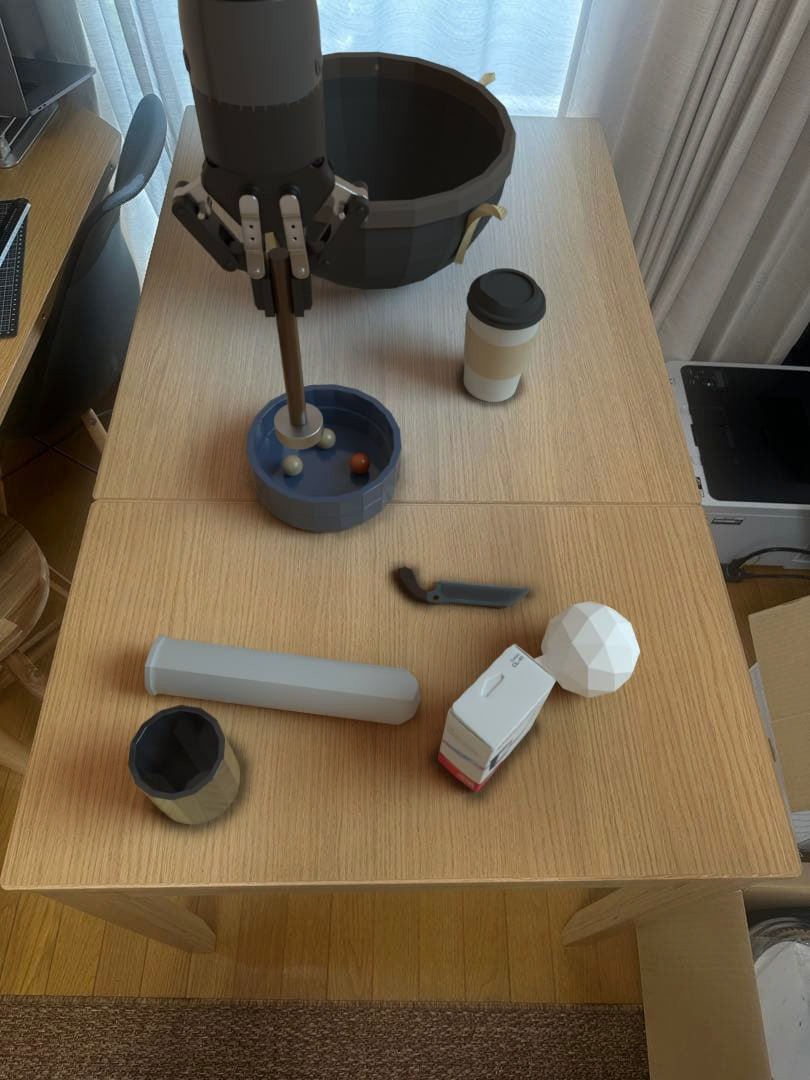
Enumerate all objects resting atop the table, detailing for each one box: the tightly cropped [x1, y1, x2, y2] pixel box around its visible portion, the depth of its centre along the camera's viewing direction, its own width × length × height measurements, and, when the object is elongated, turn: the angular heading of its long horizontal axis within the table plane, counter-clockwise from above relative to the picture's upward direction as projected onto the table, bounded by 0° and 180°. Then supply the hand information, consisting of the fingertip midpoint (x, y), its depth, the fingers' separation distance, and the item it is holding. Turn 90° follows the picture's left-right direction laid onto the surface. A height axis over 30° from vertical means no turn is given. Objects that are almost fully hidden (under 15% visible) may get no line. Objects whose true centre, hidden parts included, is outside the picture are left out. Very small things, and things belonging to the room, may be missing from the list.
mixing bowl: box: [245, 383, 403, 533], centre depth 83 cm, size 17×17×6 cm
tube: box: [143, 633, 422, 726], centre depth 69 cm, size 5×5×25 cm
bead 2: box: [317, 428, 336, 449], centre depth 86 cm, size 2×2×2 cm
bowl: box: [265, 51, 517, 291], centre depth 98 cm, size 35×35×20 cm
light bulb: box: [533, 600, 641, 699], centre depth 70 cm, size 9×9×12 cm
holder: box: [127, 704, 241, 826], centre depth 62 cm, size 7×8×9 cm
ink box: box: [437, 643, 557, 793], centre depth 64 cm, size 9×5×12 cm, turn 137°
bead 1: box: [281, 455, 303, 476], centre depth 83 cm, size 2×2×2 cm
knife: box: [397, 566, 531, 609], centre depth 77 cm, size 14×4×1 cm, turn 86°
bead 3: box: [349, 453, 370, 474], centre depth 84 cm, size 2×2×2 cm
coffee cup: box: [463, 267, 547, 403], centre depth 88 cm, size 9×9×15 cm
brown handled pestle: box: [266, 247, 324, 450], centre depth 60 cm, size 4×4×19 cm
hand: (284, 309), depth 56 cm, fingers closed on brown handled pestle
